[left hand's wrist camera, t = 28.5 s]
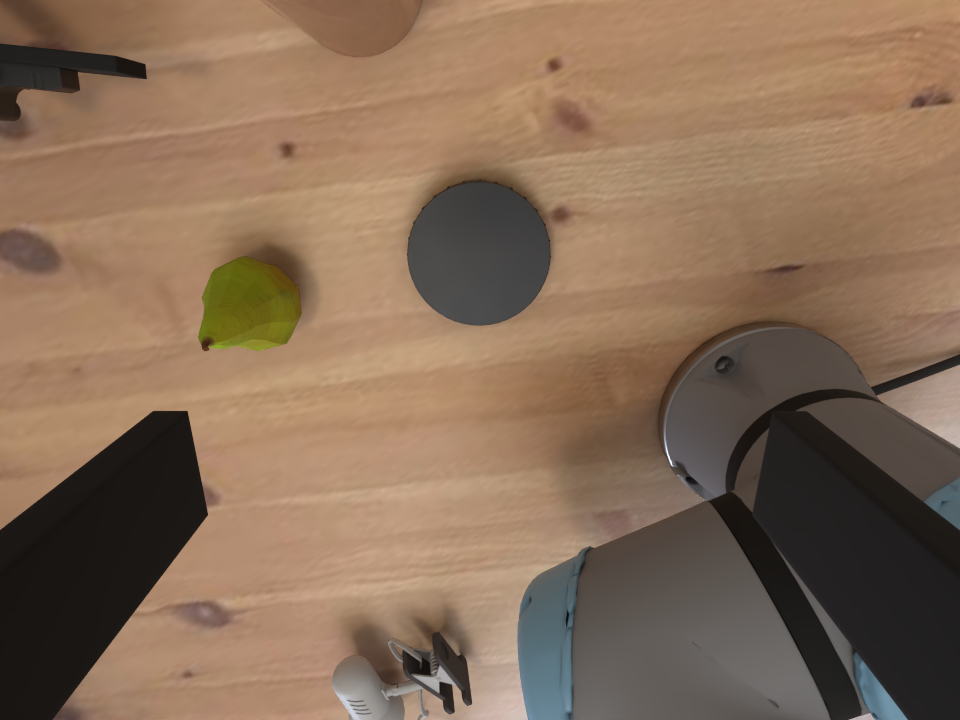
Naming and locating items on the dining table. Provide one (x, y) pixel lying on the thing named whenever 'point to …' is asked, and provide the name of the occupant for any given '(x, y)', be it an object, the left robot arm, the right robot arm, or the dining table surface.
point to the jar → (351, 22)
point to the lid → (478, 253)
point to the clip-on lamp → (379, 703)
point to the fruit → (248, 306)
